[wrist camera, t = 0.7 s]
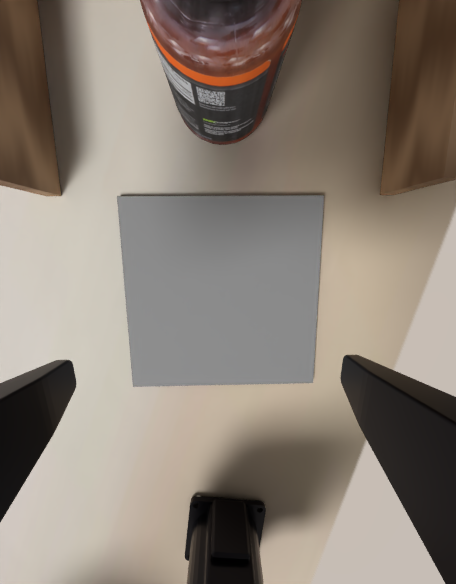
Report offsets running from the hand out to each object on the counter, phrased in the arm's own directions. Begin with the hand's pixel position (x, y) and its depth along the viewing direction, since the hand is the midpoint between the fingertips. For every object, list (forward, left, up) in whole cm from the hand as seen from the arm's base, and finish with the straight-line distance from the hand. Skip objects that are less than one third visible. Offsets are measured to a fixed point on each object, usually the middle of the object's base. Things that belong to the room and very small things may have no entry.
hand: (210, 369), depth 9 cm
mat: (0, -1, -11) cm, 11 cm away
